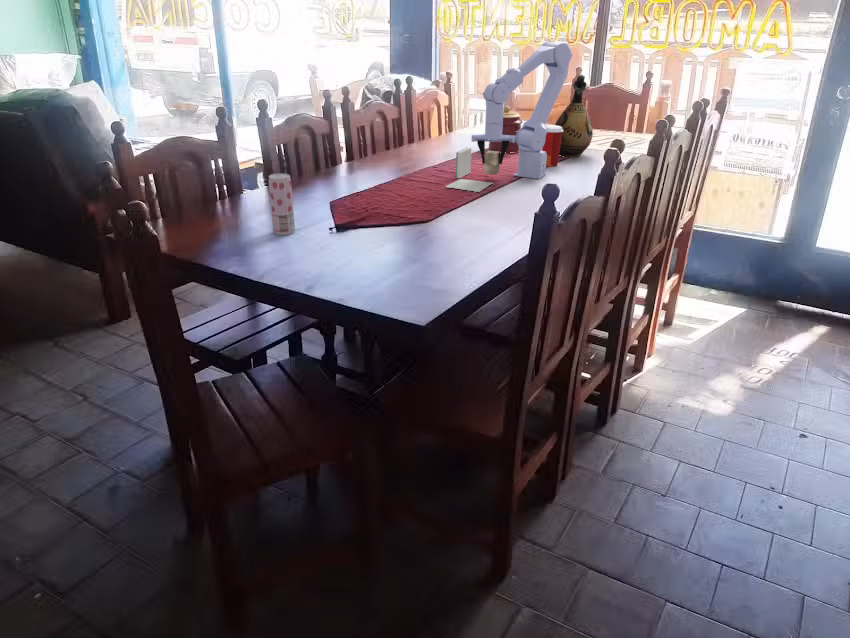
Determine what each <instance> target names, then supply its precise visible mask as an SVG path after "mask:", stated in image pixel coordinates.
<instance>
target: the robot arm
mask: <svg viewBox="0 0 850 638" xmlns="http://www.w3.org/2000/svg"><path fill="white" fill-rule="evenodd" d="M572 57H573V53H572V49H571V47H570V45H569V44H568V43H566V42H555V41H551V40H550V41H549V40H548V41H545V42H543V43H542V44H541V45H539V46H538V47H537V48H536V50H535V51H534V52H533V53H532V54H531V55H530V56H529V57H528V58H526V60H525V61H523V63H521V64H520V65H519V66H518V67H517V68H507V69H506V70H505V73H504V74H503V75H502V76H501V77H499V78H497V79H496V80H495V82H494V83H493V82H492V83H489V84H487V85H486V87H485V88H484V91H483V92H482V96H483V99H484V100H485V122H484V123H485V124H484V125H485V126H484V128H485V130H484V134H471V141H470V142H471V143H474V142H477V143H476V144H477V146H478V149H479V152H480V156H481V160H482V161H481V163H482V165H484V163H485V149H486V148H485V147H486V146H485V145H486V143H489V142H501V153H500V165H502V164H503V161H504V160H503V159H504V157H505V152H506V150H507V148H508V146H509V142H514V143H515V136H512V135H502V128H503V110H504V107H505V105H504V104H505V102H506V101H507V100H508V98H509V95H510V93H512V92H513V91H514V90H515V89H517V88H518V87H520V86H521V85H522V84H523V81H524V77H526V76H527V75H529V74H530V73H532V72H533V71H534V70H535V69H537V68H538V67H540V66H541V65H545V67H546V68H547V69H548V73H549V76H548V78H547V80H546V82H545V85H544V86H543V89H542V92H541V93H540V96H539V98H538V100H537V102H536V105H535V107H534V110H533V112H532V113H531V116H530V118H529V119H528V120H526V121H525V122H524V123H522V125H521V129H520V130H519V131H518V132H517V134H516V142H517V144H518V145H519V152H518V160H517V171H516V172H515V173H513V176H514V177H520V178H521V177H522V178H527V179H528V178H529V179H537V180H538V179H541V178H542V177H544V176H546V174H547V173H546V171H547V166H546V161H547V154H546V152H545V151H542V147H543V146H544V144H545V137H546V134H547V129H546V127H545V126H546V124H547V122H548V119H549V117H550V114H551V113H552V110H553V108H554V105H555V103H556V102H557V99H558V97H559V94H560V93H561V91H562V88H563V85H564V84H565V81H566V80H567V77H568V74H569V65H570V62H571V59H572Z"/></svg>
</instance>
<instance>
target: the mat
mask: <svg viewBox="0 0 850 638" xmlns="http://www.w3.org/2000/svg"><path fill="white" fill-rule="evenodd" d="M491 184H493V185H494V183H493V182H487V181H478V180H471V179H463V178H461V179H456V180H455V181H453V182H451V183H450V184H448V185H445V186H444V188H445V187H447V188H455V189H462V190H468V191H467V192H469V191H474V192H473V193H476V192H480V191H481V192H482V190H483V189H485V188H486V187H488V186H489V185H491ZM491 186H492V185H491ZM447 188H446V189H447ZM488 188H489V187H488ZM486 189H487V188H486ZM486 189H485V190H486ZM462 190H461V191H462ZM483 191H484V190H483ZM481 192H480V193H481Z"/></svg>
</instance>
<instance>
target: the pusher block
mask: <svg viewBox="0 0 850 638" xmlns="http://www.w3.org/2000/svg"><path fill="white" fill-rule="evenodd" d="M500 154H501V153H500V152H498V151H489V150H488V151H486V152H485V151H484V158H485V163H484V164H483V174H486V175H493V176H496V175H497V174H499V173H500V167H501V166H500V165H501V164H500Z"/></svg>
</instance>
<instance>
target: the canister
mask: <svg viewBox="0 0 850 638" xmlns="http://www.w3.org/2000/svg"><path fill="white" fill-rule="evenodd" d="M521 116H522V115H521V114H520V113H518V111H515V110H511V107H510V106H509V105H504V109H503V128H502V135H512V136H515V143H514V142H509V146H508V148H507V150H506V153H510V152H517V153H519V152H518V151H519V145H518V144H517V142H516V134H517V132H518V131H519V130H520V129H521V128H522V124H523V120H521ZM489 150H490V151H498V152H501V142H488V151H489Z"/></svg>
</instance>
